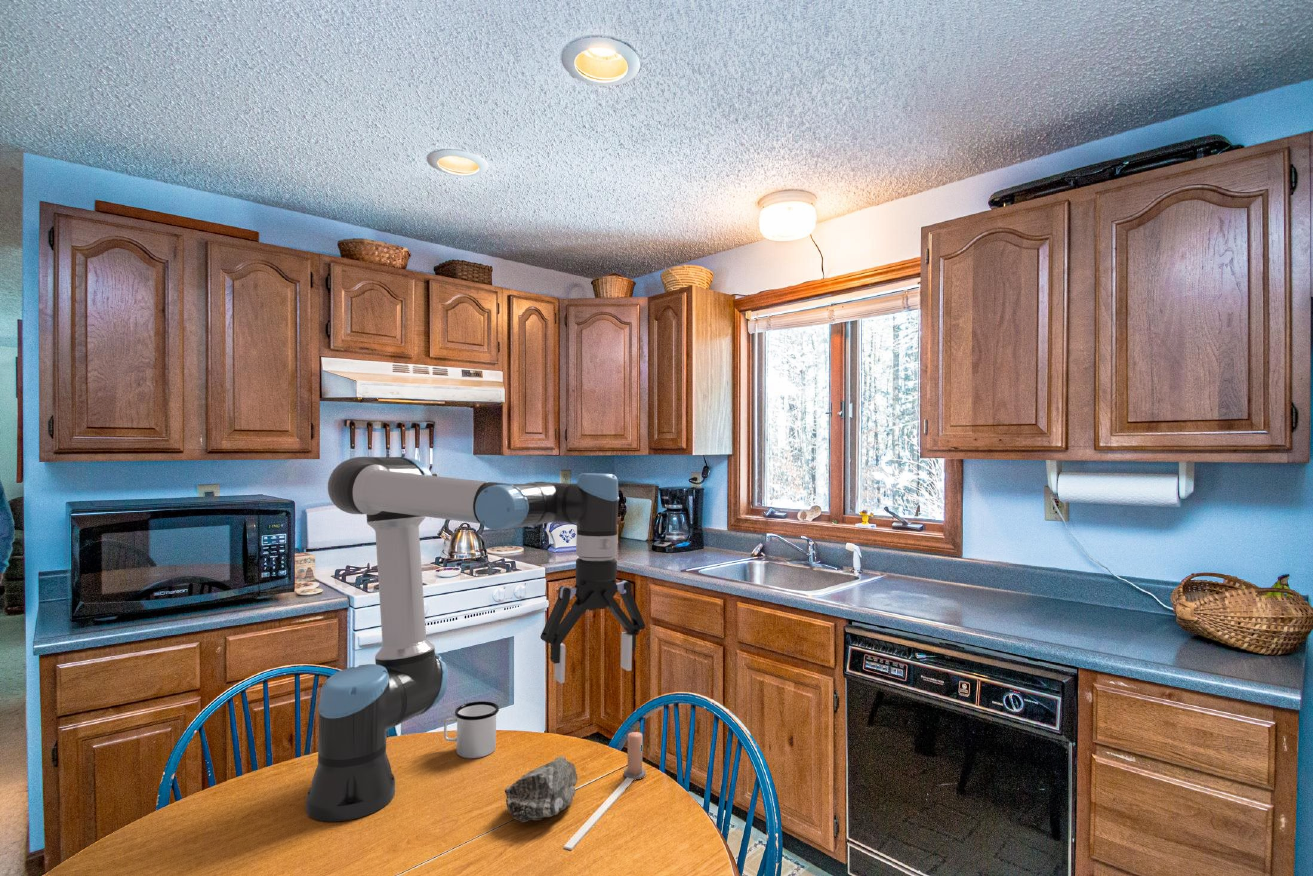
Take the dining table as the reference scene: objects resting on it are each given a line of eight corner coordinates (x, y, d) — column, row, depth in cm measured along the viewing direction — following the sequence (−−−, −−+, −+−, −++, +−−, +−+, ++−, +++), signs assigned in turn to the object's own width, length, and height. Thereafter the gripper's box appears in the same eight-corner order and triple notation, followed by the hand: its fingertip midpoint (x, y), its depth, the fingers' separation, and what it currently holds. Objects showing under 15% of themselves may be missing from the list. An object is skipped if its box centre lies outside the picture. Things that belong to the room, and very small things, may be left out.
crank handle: (556, 846, 107) (556, 796, 107) (629, 768, 135) (629, 729, 135) (579, 852, 105) (580, 802, 106) (648, 772, 133) (649, 732, 133)
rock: (566, 822, 110) (530, 774, 111) (524, 857, 110) (488, 808, 111) (589, 772, 128) (557, 731, 129) (552, 802, 128) (521, 761, 130)
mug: (503, 742, 147) (504, 701, 147) (490, 761, 137) (491, 717, 138) (452, 740, 148) (453, 700, 148) (435, 759, 138) (436, 716, 139)
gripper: (540, 565, 109) (537, 693, 108) (664, 556, 122) (662, 669, 121) (524, 559, 115) (521, 679, 114) (643, 551, 128) (641, 659, 128)
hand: (593, 674), depth 118 cm, fingers open, 13 cm apart
